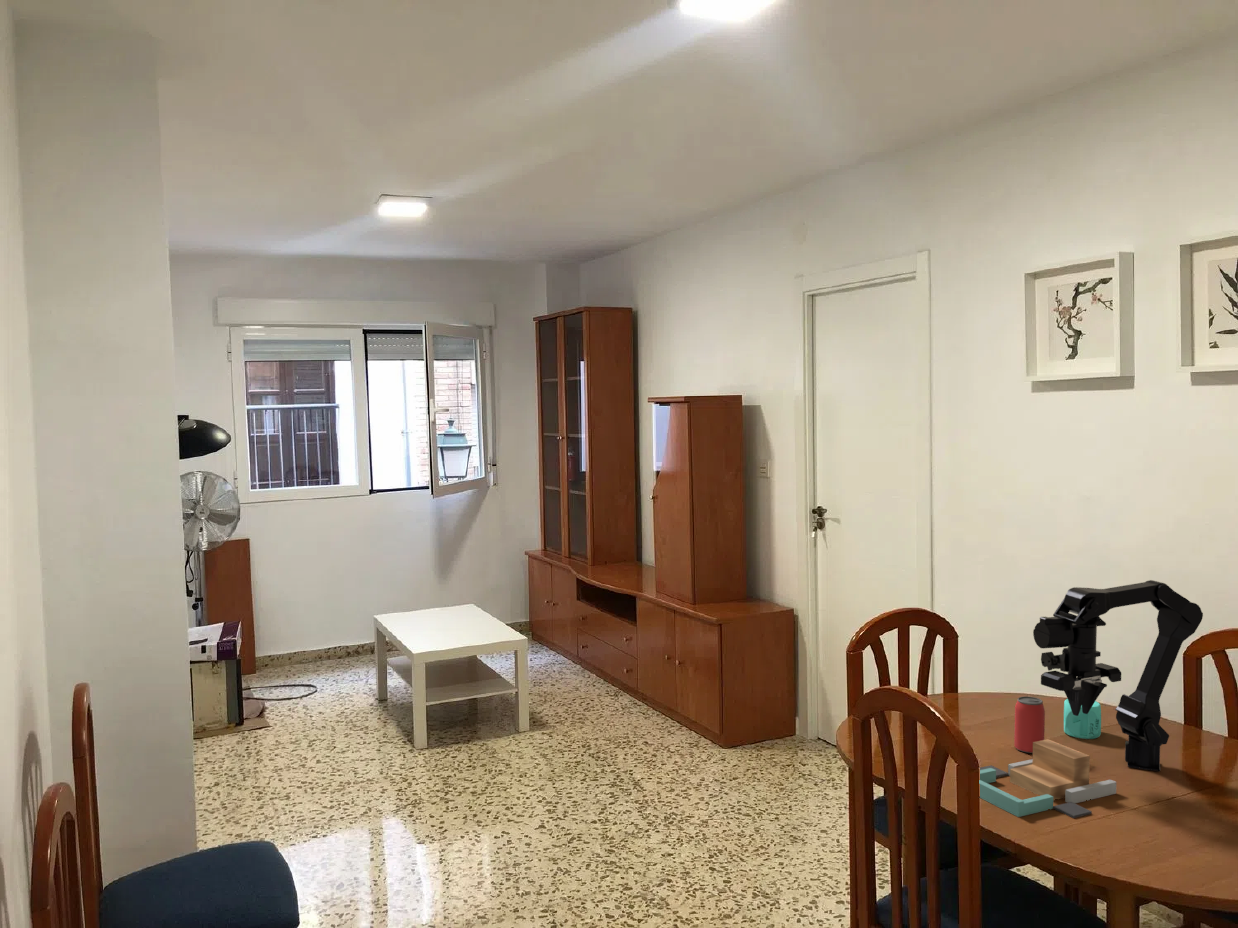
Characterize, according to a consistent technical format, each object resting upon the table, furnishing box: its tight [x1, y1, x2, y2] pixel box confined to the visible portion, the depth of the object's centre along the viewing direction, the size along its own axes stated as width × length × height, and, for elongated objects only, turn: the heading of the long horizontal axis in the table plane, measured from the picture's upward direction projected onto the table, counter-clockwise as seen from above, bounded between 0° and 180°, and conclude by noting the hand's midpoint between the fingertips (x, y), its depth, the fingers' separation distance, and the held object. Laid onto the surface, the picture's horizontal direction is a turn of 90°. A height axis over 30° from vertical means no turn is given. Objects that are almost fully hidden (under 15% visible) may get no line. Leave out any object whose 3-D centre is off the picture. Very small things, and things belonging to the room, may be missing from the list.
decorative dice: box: [1063, 698, 1102, 740], centre depth 241 cm, size 8×8×8 cm
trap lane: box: [979, 758, 1117, 819], centre depth 208 cm, size 28×27×3 cm
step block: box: [1009, 738, 1091, 801], centre depth 209 cm, size 11×11×8 cm
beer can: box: [1013, 695, 1046, 754], centre depth 231 cm, size 7×7×12 cm
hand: (1080, 714), depth 217 cm, fingers open, 3 cm apart
